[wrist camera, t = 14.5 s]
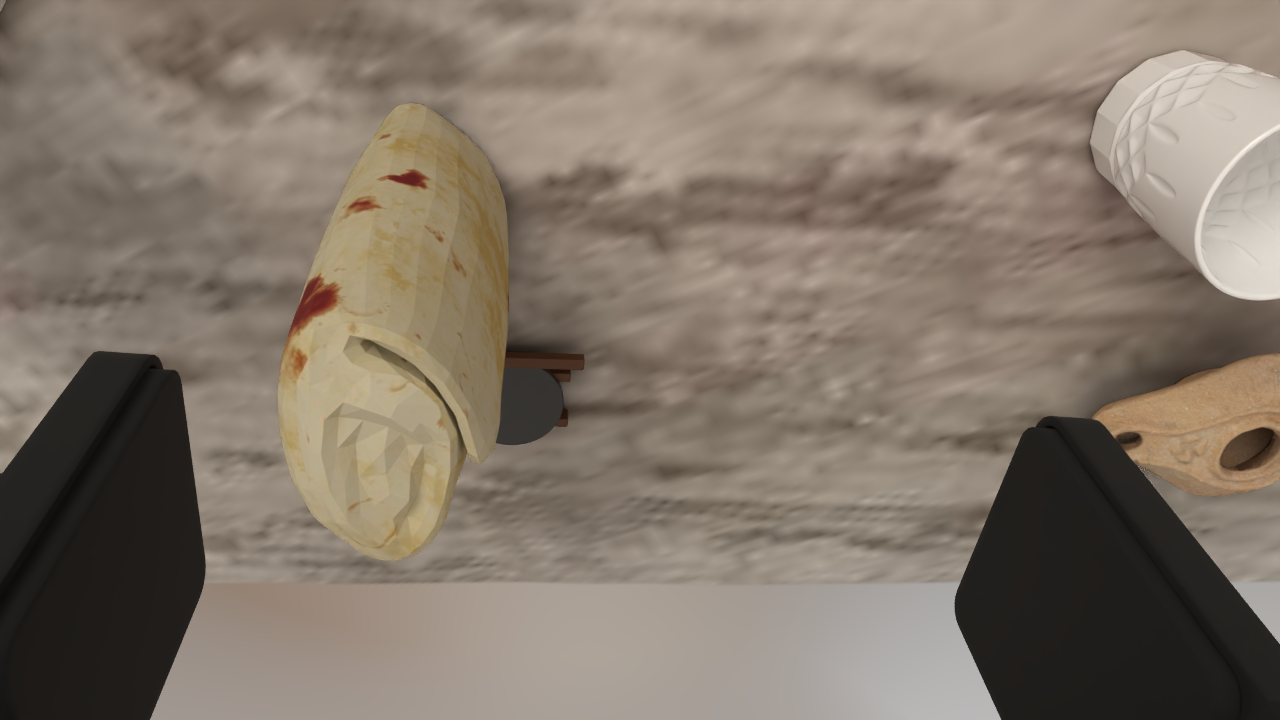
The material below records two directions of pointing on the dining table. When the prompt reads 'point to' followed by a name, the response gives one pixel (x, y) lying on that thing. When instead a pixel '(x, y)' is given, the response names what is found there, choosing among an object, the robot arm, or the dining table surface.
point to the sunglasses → (534, 394)
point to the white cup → (1200, 164)
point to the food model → (399, 338)
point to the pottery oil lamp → (1206, 428)
